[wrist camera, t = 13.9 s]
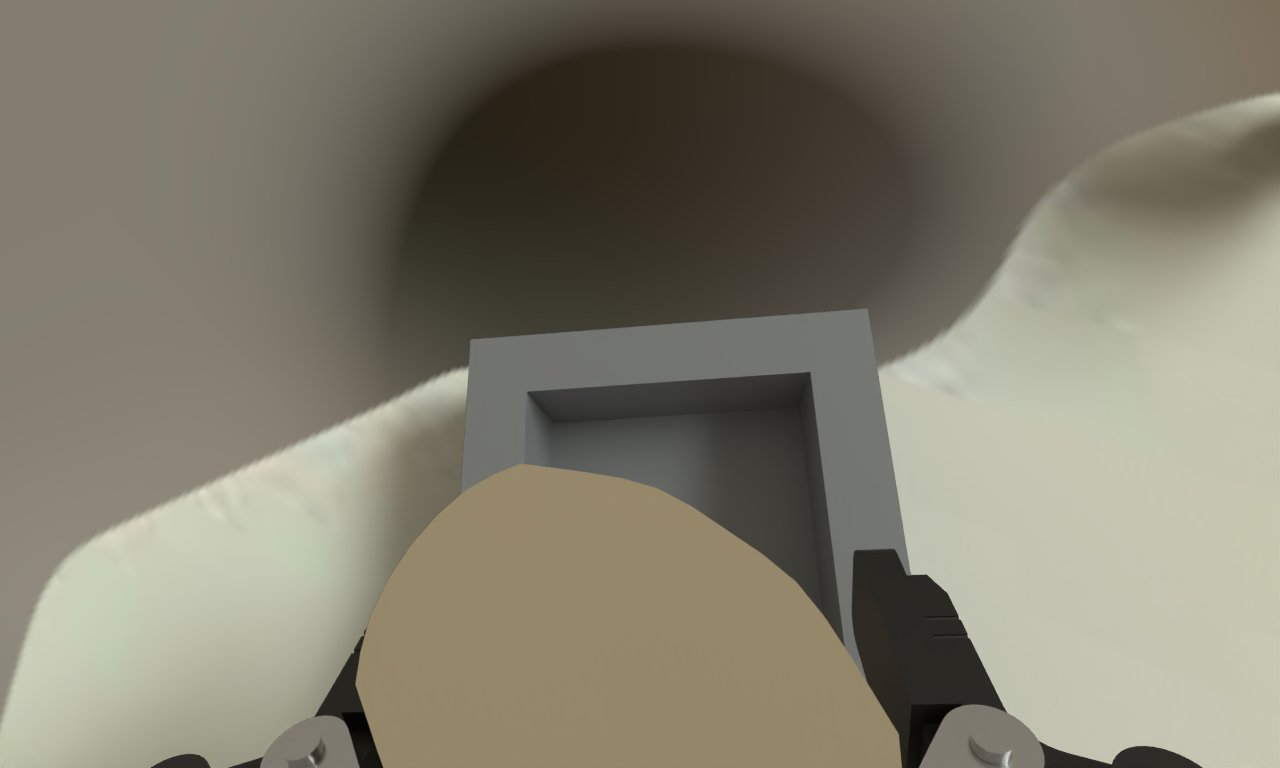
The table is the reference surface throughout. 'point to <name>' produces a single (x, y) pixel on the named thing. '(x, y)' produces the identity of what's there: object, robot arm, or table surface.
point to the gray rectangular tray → (711, 431)
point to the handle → (605, 641)
